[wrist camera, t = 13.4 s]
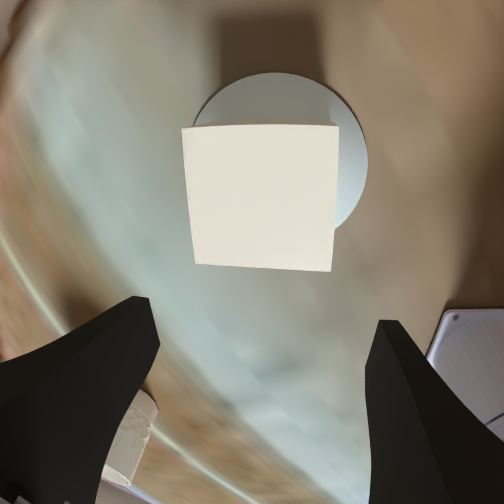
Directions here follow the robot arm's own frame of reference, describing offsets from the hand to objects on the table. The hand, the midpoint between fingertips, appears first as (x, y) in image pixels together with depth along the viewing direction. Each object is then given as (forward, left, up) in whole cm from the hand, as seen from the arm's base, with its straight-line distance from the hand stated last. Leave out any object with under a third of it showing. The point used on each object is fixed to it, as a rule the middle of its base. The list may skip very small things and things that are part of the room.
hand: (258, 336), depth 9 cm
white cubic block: (+1, -3, -10) cm, 10 cm away
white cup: (+17, +22, -10) cm, 29 cm away
